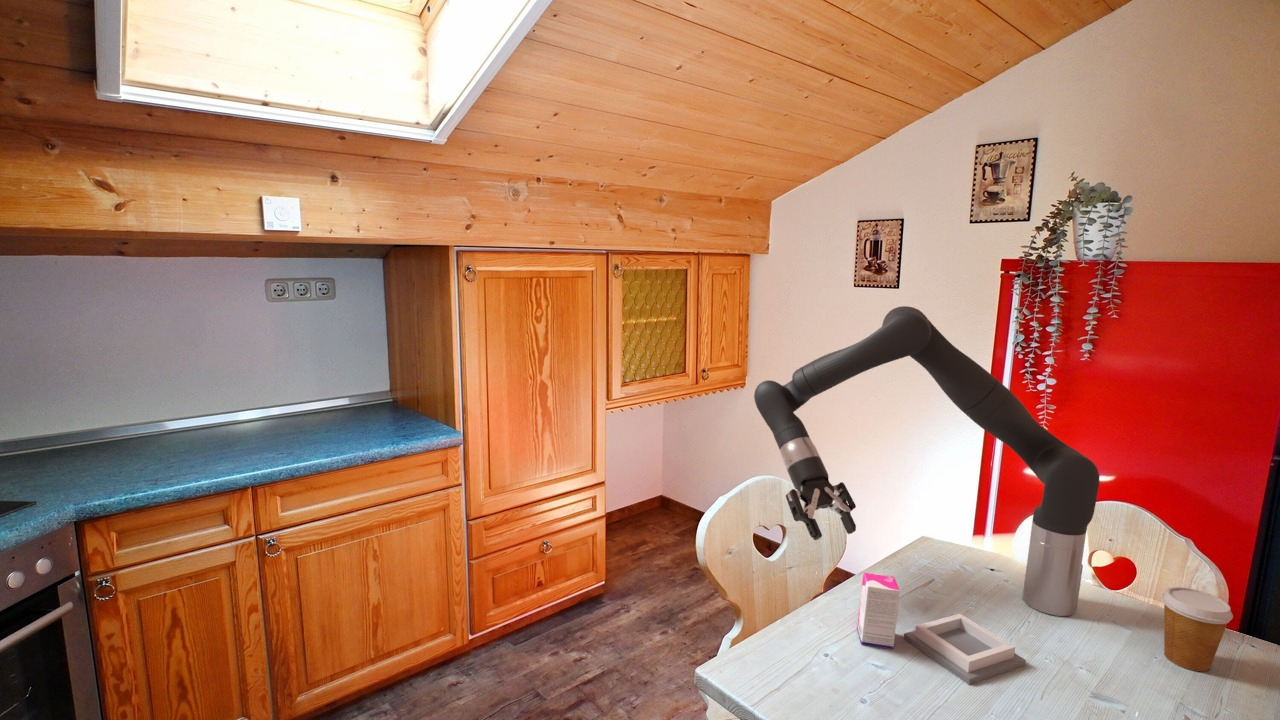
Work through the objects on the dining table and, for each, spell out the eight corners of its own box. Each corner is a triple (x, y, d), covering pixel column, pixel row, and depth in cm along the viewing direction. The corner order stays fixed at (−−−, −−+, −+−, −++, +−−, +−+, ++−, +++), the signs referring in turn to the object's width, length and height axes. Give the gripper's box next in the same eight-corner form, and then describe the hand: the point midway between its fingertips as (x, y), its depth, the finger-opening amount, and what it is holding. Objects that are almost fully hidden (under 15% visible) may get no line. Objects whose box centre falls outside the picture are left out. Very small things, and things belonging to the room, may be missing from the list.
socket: (957, 623, 124) (958, 608, 124) (1025, 665, 111) (1027, 649, 111) (903, 638, 119) (905, 623, 118) (968, 684, 106) (970, 668, 105)
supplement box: (894, 649, 115) (900, 590, 113) (860, 645, 116) (865, 586, 114) (889, 631, 121) (894, 575, 119) (856, 627, 122) (861, 571, 120)
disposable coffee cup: (1205, 651, 117) (1216, 591, 115) (1233, 683, 108) (1246, 618, 106) (1143, 640, 120) (1153, 581, 118) (1166, 670, 111) (1177, 607, 109)
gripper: (784, 458, 130) (816, 533, 122) (839, 451, 136) (873, 523, 127) (767, 474, 136) (797, 547, 127) (821, 467, 142) (853, 537, 133)
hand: (835, 535), depth 127 cm, fingers open, 8 cm apart
